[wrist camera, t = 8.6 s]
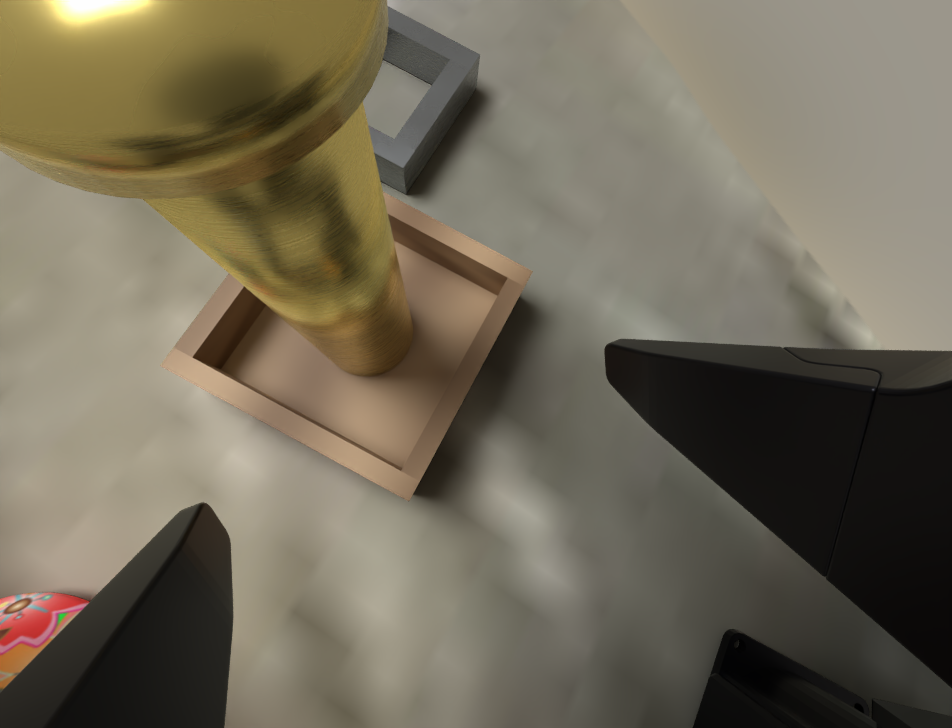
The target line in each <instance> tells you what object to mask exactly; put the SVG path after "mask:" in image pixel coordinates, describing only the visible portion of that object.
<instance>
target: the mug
mask: <svg viewBox="0 0 952 728" xmlns="http://www.w3.org/2000/svg"><path fill="white" fill-rule="evenodd" d="M88 603H89V601H87V600H84V599H81V598H78V597H75V596H71V595H67V594H60V593H28V594H20V595H14V596H9V597H6V598H2V599H0V692H1V691H2V690H3V689H4V688H5V687H6V686H7V685H8V684H9V683H10V682H11V681H12V680H13V679H14V678H15V677H16V676H17V675H18V674H19V673H20V672H21V671H22V670H23V669H24V668H25V667H26V666H27V665H28V664H29V663H30V662H31V661H32V660H33V659H34V658H35V657H36V656H37V655H38V654H39V653H40V652H41V651H42V649H43V648H44V647H45V646H46V645H47V644H48V643H49V642H50V641H51V640H52V639H53V638H54V637H55V636H56V635H57V634H58V633H59V632H60V631H61V630H62V629H63V628H64V627H65V626H66V625H67V624H68V623H69V622H70V621H71V620H72V619H73V618H74V617H75V616H76V615H77V614H78V613H79V612H80V611H81V610H82V609H83V608H84V607H85V606H86V605H87V604H88Z"/></svg>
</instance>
